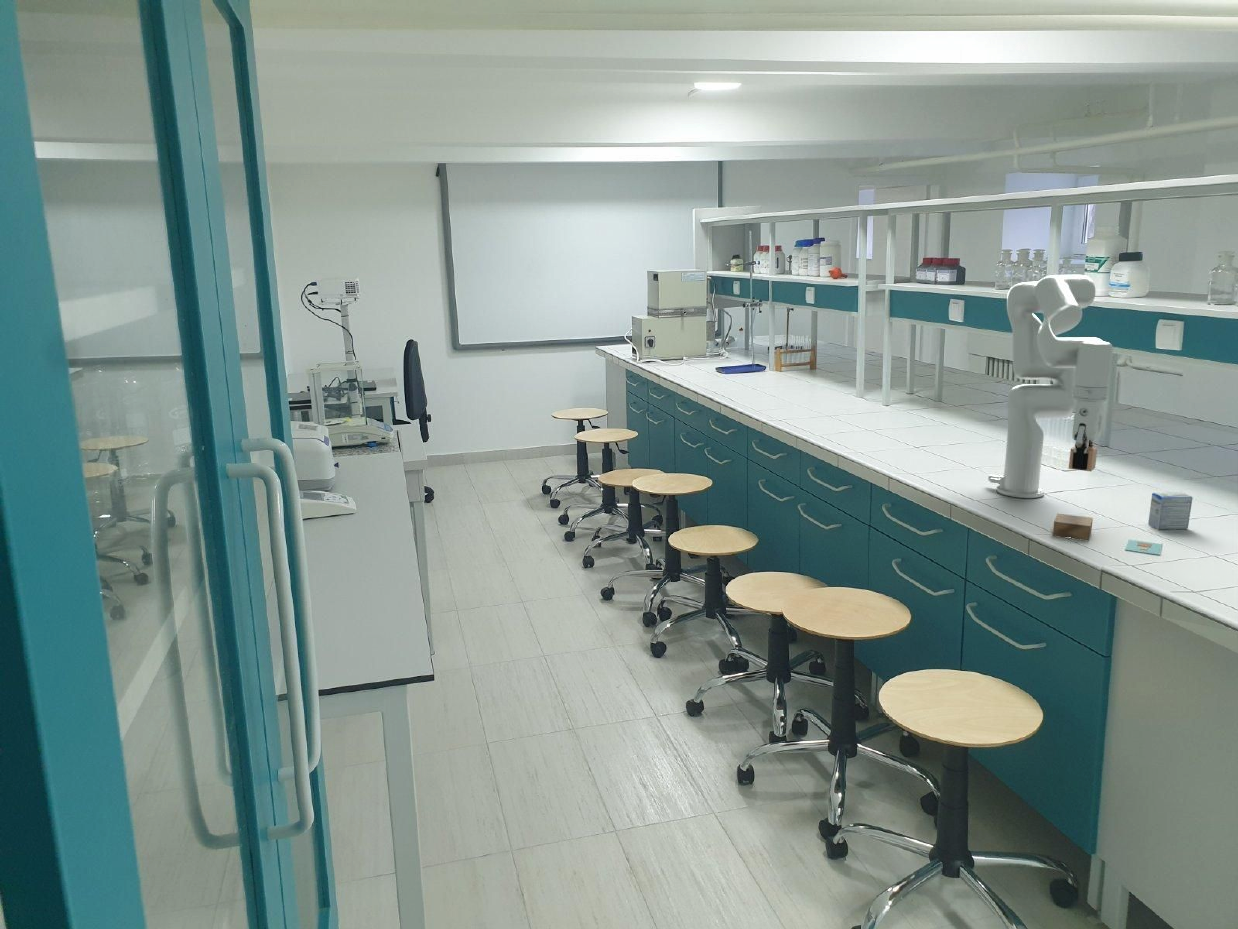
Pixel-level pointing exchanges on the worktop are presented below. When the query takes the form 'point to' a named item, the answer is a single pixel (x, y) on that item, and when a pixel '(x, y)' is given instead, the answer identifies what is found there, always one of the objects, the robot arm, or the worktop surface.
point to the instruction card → (1143, 547)
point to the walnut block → (1072, 526)
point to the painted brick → (1091, 458)
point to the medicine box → (1170, 510)
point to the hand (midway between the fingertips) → (1081, 465)
